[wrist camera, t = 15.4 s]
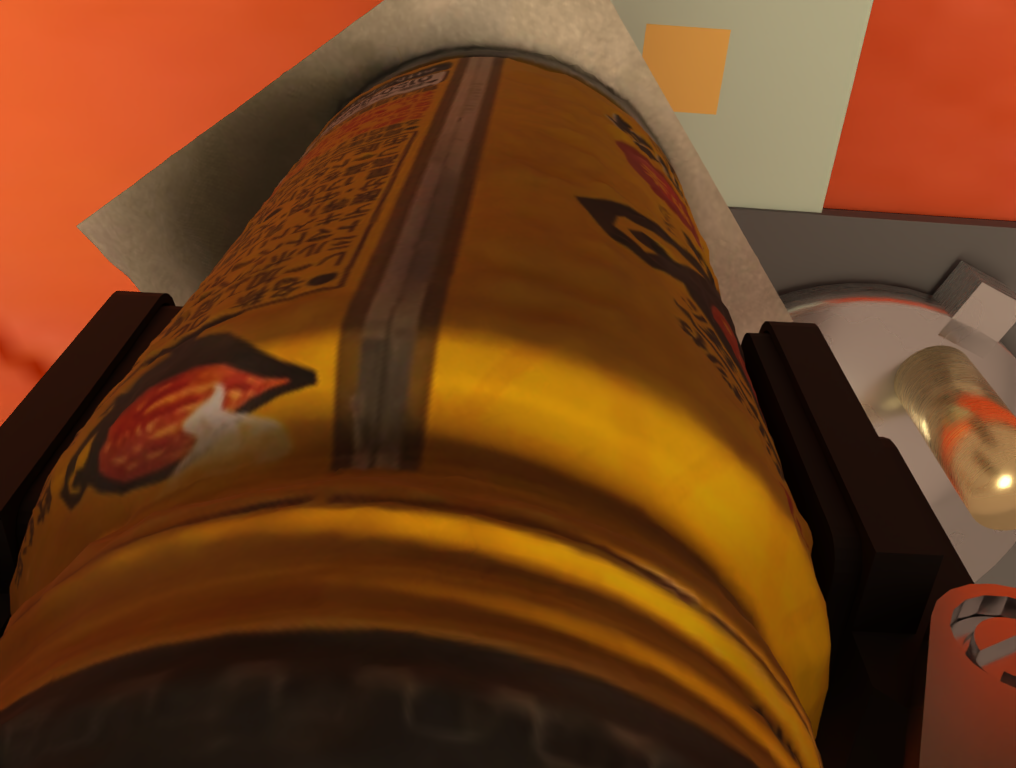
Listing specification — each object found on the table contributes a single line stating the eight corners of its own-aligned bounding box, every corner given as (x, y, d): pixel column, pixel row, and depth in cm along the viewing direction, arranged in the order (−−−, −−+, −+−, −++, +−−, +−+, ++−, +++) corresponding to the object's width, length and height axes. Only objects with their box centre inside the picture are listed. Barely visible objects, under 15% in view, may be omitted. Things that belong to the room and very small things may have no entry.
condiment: (791, 315, 15) (1289, 1331, 5) (368, 537, 18) (94, 1515, 7) (544, -119, 13) (456, 67, 2) (85, 218, 15) (-994, 1062, 5)
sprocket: (1163, 370, 32) (1325, 515, 26) (851, 679, 40) (915, 851, 33) (783, 163, 29) (859, 268, 22) (523, 544, 36) (522, 706, 30)
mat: (807, 252, 31) (810, 257, 31) (498, 231, 31) (497, 236, 31) (900, -133, 26) (906, -132, 25) (523, -162, 25) (523, -161, 25)
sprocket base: (982, 640, 40) (988, 650, 39) (547, 614, 40) (547, 624, 39) (1162, 231, 31) (1173, 238, 30) (596, 192, 30) (597, 199, 30)
